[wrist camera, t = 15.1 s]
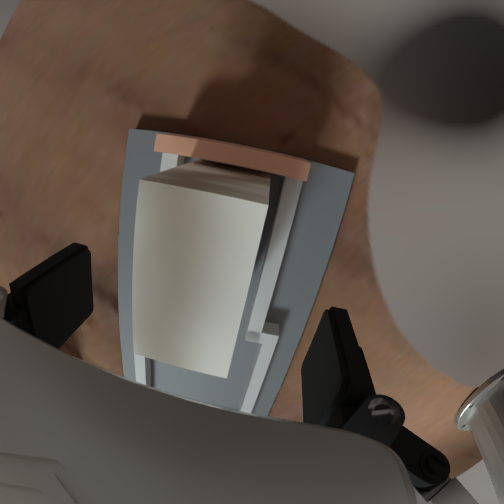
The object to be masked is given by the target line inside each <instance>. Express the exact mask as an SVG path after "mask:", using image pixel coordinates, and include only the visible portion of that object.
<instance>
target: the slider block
mask: <svg viewBox="0 0 504 504" xmlns="http://www.w3.org/2000/svg"><path fill="white" fill-rule="evenodd" d="M270 176H271V174H270V173H265V172H261V171H256V170H252V169H247V168H242V167H238V166H233V165H228V164H223V163H217V162H212V161H207V160H201V159H200V160H197V161H193V162H190V163H187V164H184V165H180V166H177V167H174V168H171V169H168V170H165V171H162V172H159V173H156V174H153V175H150V176H147V177H145V178H142V179H139V187H138V196H137V206H136V218H135V231H134V248H133V274H132V325H133V350H134V354H137V355H140V356H143V357H147V358H150V359H153V360H156V361H160V362H163V363H167V364H170V365H174V366H178V367H181V368H185V369H189V370H193V371H197V372H201V373H205V374H209V375H213V376H218V377H222V378H227V376H228V372H229V368H230V364H231V359H232V355H233V351H234V347H235V343H236V339H237V335H238V331H239V327H240V322H241V318H242V314H243V310H244V306H245V302H246V298H247V294H248V289H249V285H250V281H251V277H252V273H253V269H254V264H255V260H256V256H257V252H258V248H259V243H260V239H261V235H262V231H263V227H264V222H265V218H266V214H267V210H268V206H269V191H270Z"/></svg>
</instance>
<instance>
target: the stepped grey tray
mask: <svg viewBox="0 0 504 504" xmlns="http://www.w3.org/2000/svg"><path fill="white" fill-rule="evenodd" d="M200 159H201V160H207V161H212V162H217V163H223V164H228V165H233V166H238V167H242V168H247V169H252V170H256V171H261V172H265V173H270V174H271V176H270V191H269V206H268V210H267V214H266V218H265V222H264V227H263V231H262V235H261V239H260V243H259V248H258V252H257V256H256V260H255V264H254V269H253V273H252V277H251V281H250V285H249V289H248V294H247V298H246V302H245V306H244V310H243V314H242V318H241V322H240V327H239V331H238V335H237V339H236V343H235V347H234V351H233V355H232V359H231V364H230V368H229V372H228V376H227V378H222V377H218V376H213V375H209V374H205V373H201V372H197V371H193V370H189V369H185V368H181V367H178V366H174V365H170V364H167V363H163V362H160V361H156V360H153V359H150V358H147V357H143V356H140V355H137V354H134V350H133V325H132V274H133V248H134V231H135V218H136V206H137V196H138V187H139V179H142V178H145V177H147V176H150V175H153V174H156V173H159V172H162V171H165V170H168V169H171V168H174V167H177V166H180V165H184V164H187V163H190V162H193V161H197V160H200ZM354 174H355V173H353V172H350V171H347V170H344V169H340V168H337V167H333V166H330V165H326V164H322V163H319V162H315V161H311V160H307V159H304V158H300V157H296V156H292V155H287V154H283V153H279V152H275V151H270V150H266V149H261V148H256V147H252V146H247V145H242V144H237V143H232V142H226V141H221V140H215V139H209V138H203V137H197V136H190V135H183V134H176V133H169V132H161V131H153V130H144V129H129V135H128V141H127V148H126V156H125V164H124V172H123V182H122V192H121V205H120V220H119V242H118V302H119V323H120V338H121V351H122V361H123V370H124V377H125V378H128V379H130V380H133V381H136V382H139V383H141V384H144V385H147V386H150V387H153V388H156V389H159V390H162V391H166V392H169V393H172V394H175V395H179V396H182V397H185V398H189V399H193V400H196V401H200V402H204V403H208V404H211V405H216V406H220V407H224V408H228V409H233V410H237V411H242V412H247V413H252V414H256V415H261V416H268V413H269V411H270V409H271V407H272V405H273V402H274V400H275V398H276V396H277V393H278V391H279V389H280V386H281V384H282V382H283V379H284V377H285V375H286V372H287V370H288V368H289V365H290V363H291V360H292V358H293V355H294V353H295V351H296V348H297V346H298V343H299V341H300V338H301V335H302V333H303V330H304V328H305V325H306V322H307V320H308V317H309V314H310V312H311V309H312V306H313V304H314V301H315V298H316V295H317V293H318V290H319V287H320V284H321V281H322V278H323V275H324V272H325V270H326V267H327V264H328V261H329V258H330V255H331V251H332V248H333V245H334V242H335V239H336V236H337V233H338V229H339V226H340V223H341V220H342V216H343V213H344V209H345V206H346V203H347V199H348V196H349V192H350V189H351V185H352V181H353V178H354Z"/></svg>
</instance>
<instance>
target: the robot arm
mask: <svg viewBox="0 0 504 504" xmlns="http://www.w3.org/2000/svg"><path fill="white" fill-rule="evenodd" d="M9 285H10V290H11V293H9V294H8V293H7V290H6V289H5V288H4V287H1V286H0V504H478V502H477V501H476V500H475V499H474V498H473V497H472V495H471V494H470V493H469V492H468V491H467V490H466V489H465V488H464V487H463V485H462V484H461V483H460V482H459V481H458V480H457V478H456V477H454V478H452V479H451V478H450V477H449V473H450V464H449V461H448V460H447V458H446V457H445V455H444V454H442V453H441V452H440V451H438V450H437V449H435V448H434V447H433V446H431V445H430V444H428V443H427V442H425V441H424V440H422V439H421V438H419V437H418V436H417V435H415V434H414V433H412V432H411V431H409V430H408V429H407V428H405V427H404V426H402V425H403V424H404V421H405V412H404V410H403V408H402V407H401V405H400V404H399V403H398V402H397V401H395V400H394V399H393V398H391V397H389V396H385V395H376V393H375V389H374V386H373V382H372V379H371V376H370V373H369V369H368V366H367V363H366V360H365V357H364V354H363V350H362V348H361V347H360V346H359V345H358V342H357V339H356V336H355V333H354V330H353V327H352V324H351V321H350V318H349V315H348V312H347V310H346V309H341V308H336V307H331V308H330V309H329V310H327V309H326V310H325V311H324V313H323V315H322V318H321V320H320V323H319V325H318V328H317V330H316V333H315V335H314V338H313V340H312V343H311V345H310V347H309V350H308V352H307V354H306V357H305V359H304V361H303V364H302V369H301V375H302V396H303V422H304V423H302V422H297V421H291V420H285V419H279V418H273V417H267V416H261V415H256V414H252V413H247V412H242V411H237V410H233V409H228V408H224V407H220V406H216V405H211V404H208V403H204V402H200V401H196V400H193V399H189V398H185V397H182V396H179V395H175V394H172V393H169V392H166V391H162V390H159V389H156V388H153V387H150V386H147V385H144V384H141V383H139V382H136V381H133V380H130V379H128V378H125V377H122V376H120V375H117V374H115V373H112V372H109V371H107V370H105V369H102V368H100V367H97V366H95V365H93V364H90V363H88V362H86V361H83V360H81V359H79V358H77V357H75V356H72V355H70V354H68V353H66V352H64V351H62V350H60V349H59V348H60V347H61V346H62V345H63V344H64V342H65V341H66V340H67V339H68V338H69V337H70V336H71V335H72V334H73V333H74V332H75V331H76V329H77V328H78V327H79V326H80V325H81V324H82V323H83V322H84V321H85V320H86V319H87V318H88V317H89V316H90V315H91V313H92V311H93V293H92V275H91V253H90V251H89V250H88V247H87V246H85V245H82V244H79V243H72V244H71V245H69V246H67V247H66V248H64V249H62V250H61V251H59V252H58V253H56V254H54V255H53V256H51V257H49V258H48V259H46V260H45V261H43V262H42V263H40V264H38V265H37V266H35V267H34V268H32V269H31V270H29V271H28V272H26V273H25V274H23V275H22V276H20V277H19V278H17V279H16V280H14V281H13V282H11V283H10V284H9ZM455 422H456V425H457V427H458V429H459V430H463V431H467V430H471V432H472V435H473V437H474V439H475V441H476V443H477V446H478V448H479V450H480V453H481V455H482V458H483V460H484V462H485V465H486V468H487V470H488V473H489V475H490V478H491V481H492V483H493V486H494V489H495V492H496V495H497V498H498V500H499V503H500V504H504V369H503V370H501V371H500V372H498V373H497V374H495V375H494V376H492V377H491V378H490V379H488V380H487V381H486V382H485V383H483V384H482V385H481V386H480V387H479V388H478V389H477V390H476V391H475V392H474V393H473V394H472V395H471V396H470V397H469V398H468V399H467V400H466V401H465V403H464V404H463V405H462V407H461V408H460V410H459V412H458V413H457V416H456V419H455Z"/></svg>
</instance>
